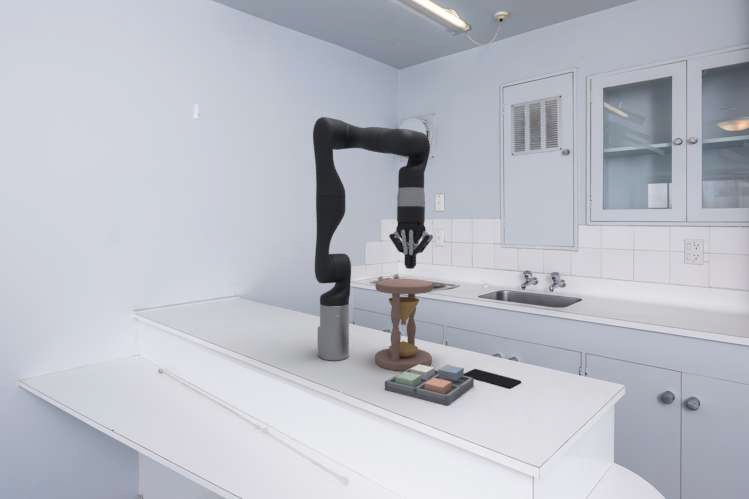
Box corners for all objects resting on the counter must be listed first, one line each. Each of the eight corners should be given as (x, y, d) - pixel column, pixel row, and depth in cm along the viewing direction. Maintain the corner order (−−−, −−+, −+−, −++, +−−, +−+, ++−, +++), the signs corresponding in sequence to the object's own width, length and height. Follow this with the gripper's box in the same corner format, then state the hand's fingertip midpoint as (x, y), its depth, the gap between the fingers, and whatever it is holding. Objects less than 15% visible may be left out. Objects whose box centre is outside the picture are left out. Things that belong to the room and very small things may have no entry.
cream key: (409, 376, 129) (409, 368, 129) (418, 371, 133) (418, 364, 133) (426, 379, 126) (426, 372, 126) (434, 374, 130) (434, 367, 130)
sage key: (395, 384, 123) (395, 376, 123) (405, 378, 127) (405, 371, 127) (412, 388, 120) (412, 380, 120) (421, 382, 124) (421, 375, 124)
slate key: (438, 377, 124) (438, 369, 124) (446, 371, 128) (446, 364, 128) (455, 380, 121) (455, 373, 121) (463, 375, 125) (463, 368, 125)
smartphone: (509, 387, 124) (461, 374, 134) (509, 390, 124) (461, 377, 134) (522, 380, 129) (474, 368, 139) (522, 383, 129) (474, 371, 139)
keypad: (384, 389, 123) (384, 381, 123) (414, 373, 136) (414, 365, 136) (447, 405, 113) (447, 396, 112) (473, 385, 126) (473, 377, 126)
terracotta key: (424, 391, 118) (424, 383, 118) (433, 385, 122) (433, 377, 122) (442, 395, 115) (442, 387, 115) (451, 389, 119) (451, 381, 119)
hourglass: (411, 375, 134) (412, 288, 132) (363, 363, 144) (364, 283, 143) (441, 360, 148) (443, 281, 146) (396, 350, 158) (396, 277, 157)
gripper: (383, 205, 128) (382, 268, 130) (426, 204, 121) (425, 271, 122) (397, 205, 135) (396, 265, 136) (439, 205, 127) (438, 268, 128)
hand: (410, 268), depth 129 cm, fingers closed
